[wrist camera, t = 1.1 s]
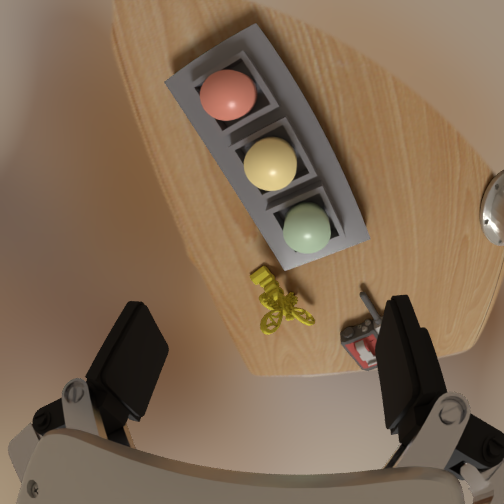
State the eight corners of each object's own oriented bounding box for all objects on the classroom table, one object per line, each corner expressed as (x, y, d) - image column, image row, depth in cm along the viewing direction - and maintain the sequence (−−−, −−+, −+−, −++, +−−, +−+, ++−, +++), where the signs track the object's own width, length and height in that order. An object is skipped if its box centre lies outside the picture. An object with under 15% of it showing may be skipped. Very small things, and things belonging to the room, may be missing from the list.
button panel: (260, 28, 23) (252, 18, 19) (366, 227, 34) (373, 247, 30) (175, 81, 28) (155, 82, 24) (286, 258, 39) (283, 280, 35)
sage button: (317, 194, 28) (318, 204, 26) (335, 232, 30) (337, 243, 28) (276, 212, 30) (274, 222, 28) (296, 247, 33) (295, 259, 30)
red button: (241, 62, 22) (235, 59, 20) (267, 102, 24) (263, 103, 22) (199, 88, 24) (190, 88, 22) (224, 126, 26) (217, 130, 24)
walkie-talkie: (401, 347, 47) (366, 283, 40) (405, 365, 43) (370, 303, 36) (363, 363, 51) (317, 306, 44) (364, 380, 47) (318, 326, 40)
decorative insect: (294, 267, 46) (319, 321, 42) (280, 277, 48) (303, 330, 43) (241, 261, 36) (269, 332, 32) (225, 273, 38) (251, 341, 34)
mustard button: (282, 128, 25) (280, 131, 23) (305, 170, 27) (305, 177, 25) (239, 150, 27) (234, 156, 25) (263, 189, 29) (260, 198, 27)
